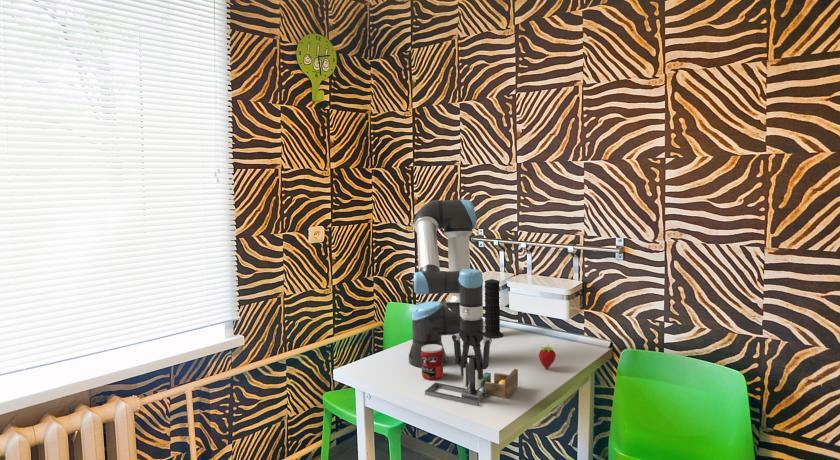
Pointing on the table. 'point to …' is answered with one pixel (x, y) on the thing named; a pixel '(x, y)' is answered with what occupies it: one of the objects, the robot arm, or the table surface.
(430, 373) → the canned food
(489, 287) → the handle grip
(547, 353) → the strawberry
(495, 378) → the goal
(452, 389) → the rail
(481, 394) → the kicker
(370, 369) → the table surface
